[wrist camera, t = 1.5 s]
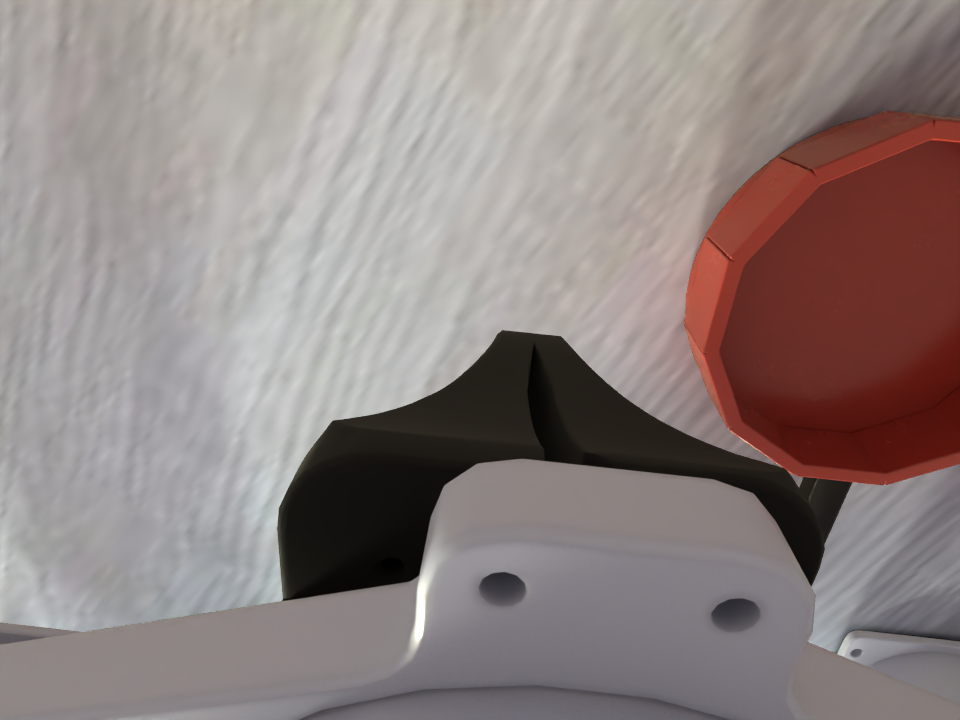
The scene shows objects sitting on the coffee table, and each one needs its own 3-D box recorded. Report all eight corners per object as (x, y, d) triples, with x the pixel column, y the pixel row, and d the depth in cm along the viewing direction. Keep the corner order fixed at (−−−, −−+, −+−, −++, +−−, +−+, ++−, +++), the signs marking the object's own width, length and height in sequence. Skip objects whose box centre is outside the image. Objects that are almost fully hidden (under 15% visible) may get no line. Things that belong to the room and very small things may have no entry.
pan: (734, 94, 18) (771, 102, 15) (1116, 132, 18) (1222, 146, 15) (623, 535, 26) (635, 592, 23) (890, 565, 25) (933, 625, 23)
